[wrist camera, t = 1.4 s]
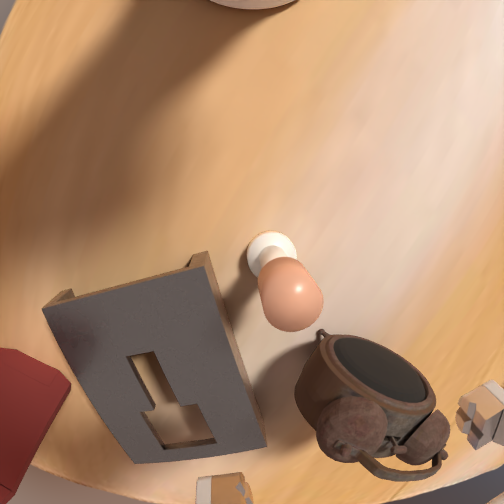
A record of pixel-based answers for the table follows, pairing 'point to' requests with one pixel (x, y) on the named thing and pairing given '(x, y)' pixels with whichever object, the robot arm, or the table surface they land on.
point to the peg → (283, 283)
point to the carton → (25, 413)
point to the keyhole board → (160, 360)
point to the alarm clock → (371, 407)
